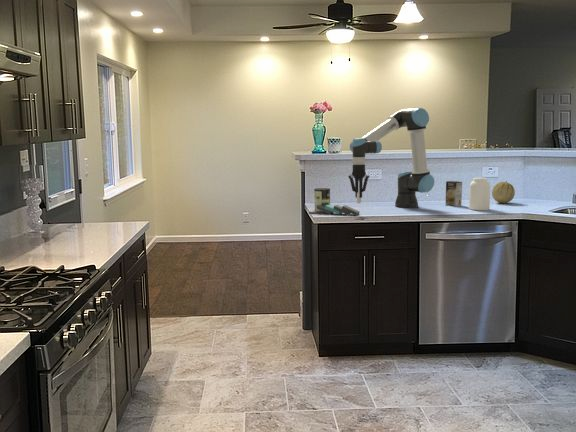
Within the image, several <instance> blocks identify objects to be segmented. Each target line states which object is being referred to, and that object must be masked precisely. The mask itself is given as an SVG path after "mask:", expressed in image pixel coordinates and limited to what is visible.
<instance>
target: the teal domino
mask: <svg viewBox="0 0 576 432" xmlns="http://www.w3.org/2000/svg"><path fill="white" fill-rule="evenodd" d="M333 208H334V206H333V205H331V204H330V205H326V206H325V209H327V210H329V211H332V212H334V213H333V214H336V215H342V214H343V213H341V212H339V211H337V210H335V209H333Z"/></svg>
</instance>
